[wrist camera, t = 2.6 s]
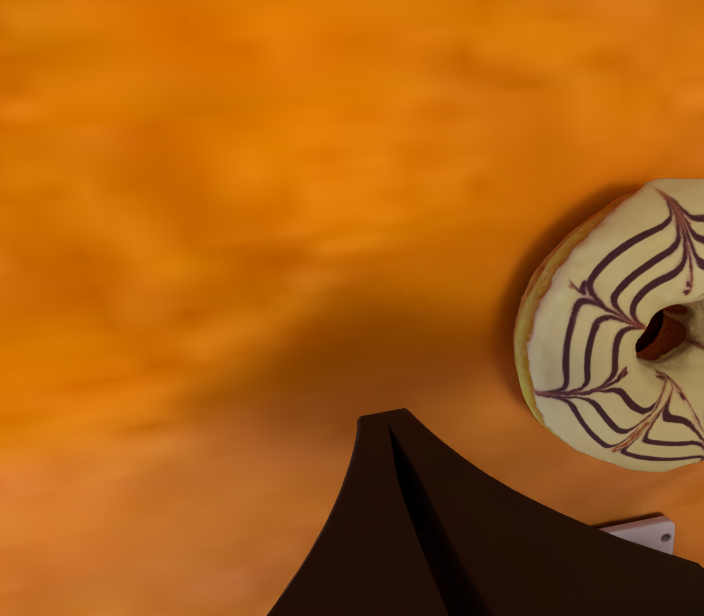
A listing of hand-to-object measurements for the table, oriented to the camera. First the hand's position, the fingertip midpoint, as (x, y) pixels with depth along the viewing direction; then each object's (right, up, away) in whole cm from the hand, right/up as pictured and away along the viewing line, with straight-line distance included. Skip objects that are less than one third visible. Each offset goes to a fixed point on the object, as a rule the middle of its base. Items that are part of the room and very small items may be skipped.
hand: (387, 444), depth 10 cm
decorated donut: (+10, +3, +6) cm, 13 cm away
